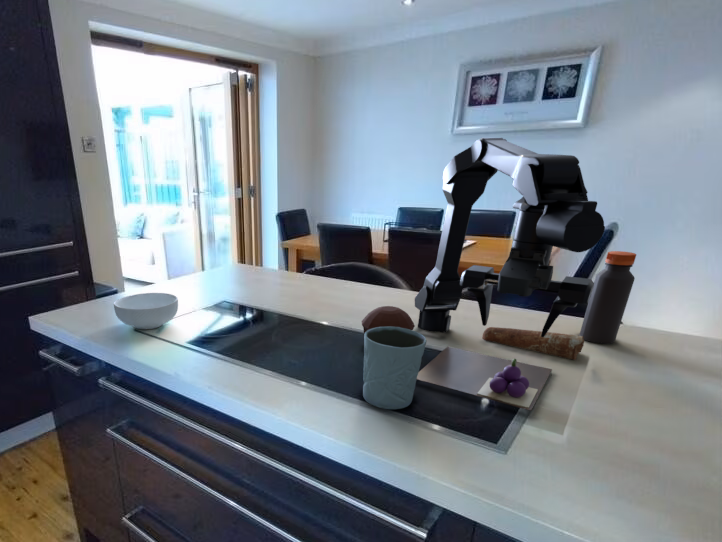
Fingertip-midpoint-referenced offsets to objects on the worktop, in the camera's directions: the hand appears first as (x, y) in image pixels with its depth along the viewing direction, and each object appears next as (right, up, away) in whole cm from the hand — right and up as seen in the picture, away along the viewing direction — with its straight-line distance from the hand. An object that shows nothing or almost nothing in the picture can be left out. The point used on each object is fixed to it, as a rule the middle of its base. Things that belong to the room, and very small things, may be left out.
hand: (512, 330), depth 77 cm
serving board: (-1, -9, +8) cm, 12 cm away
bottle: (+35, -1, +26) cm, 43 cm away
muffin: (-16, -4, +22) cm, 28 cm away
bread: (+15, -4, +20) cm, 25 cm away
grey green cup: (-21, -12, +2) cm, 25 cm away
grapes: (-1, -11, 0) cm, 11 cm away
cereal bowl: (-75, +4, +43) cm, 86 cm away
